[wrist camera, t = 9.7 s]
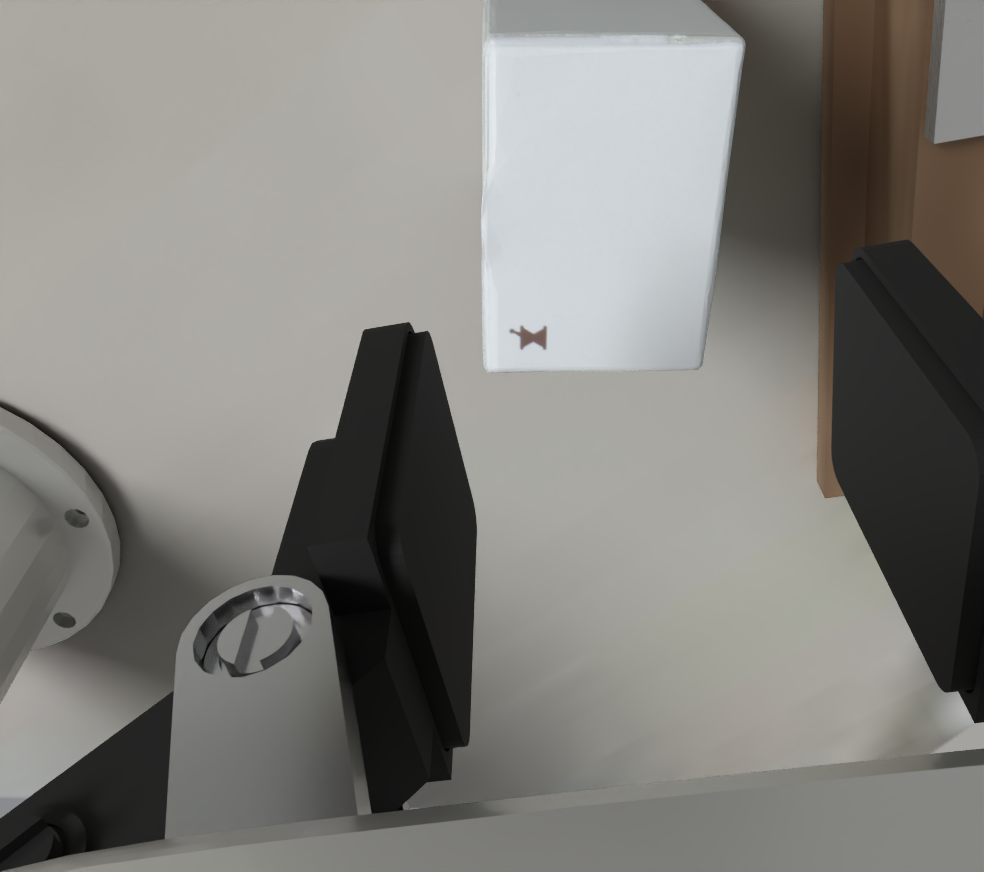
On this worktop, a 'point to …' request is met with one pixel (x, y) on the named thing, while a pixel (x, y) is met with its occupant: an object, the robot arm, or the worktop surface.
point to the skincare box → (603, 181)
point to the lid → (956, 72)
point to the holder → (888, 168)
